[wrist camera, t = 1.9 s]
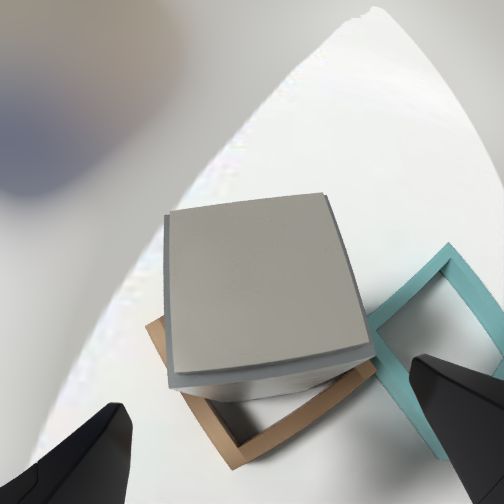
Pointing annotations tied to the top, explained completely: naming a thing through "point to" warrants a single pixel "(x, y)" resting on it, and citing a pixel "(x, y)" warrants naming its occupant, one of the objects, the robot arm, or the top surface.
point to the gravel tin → (259, 299)
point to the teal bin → (452, 267)
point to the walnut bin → (277, 432)
